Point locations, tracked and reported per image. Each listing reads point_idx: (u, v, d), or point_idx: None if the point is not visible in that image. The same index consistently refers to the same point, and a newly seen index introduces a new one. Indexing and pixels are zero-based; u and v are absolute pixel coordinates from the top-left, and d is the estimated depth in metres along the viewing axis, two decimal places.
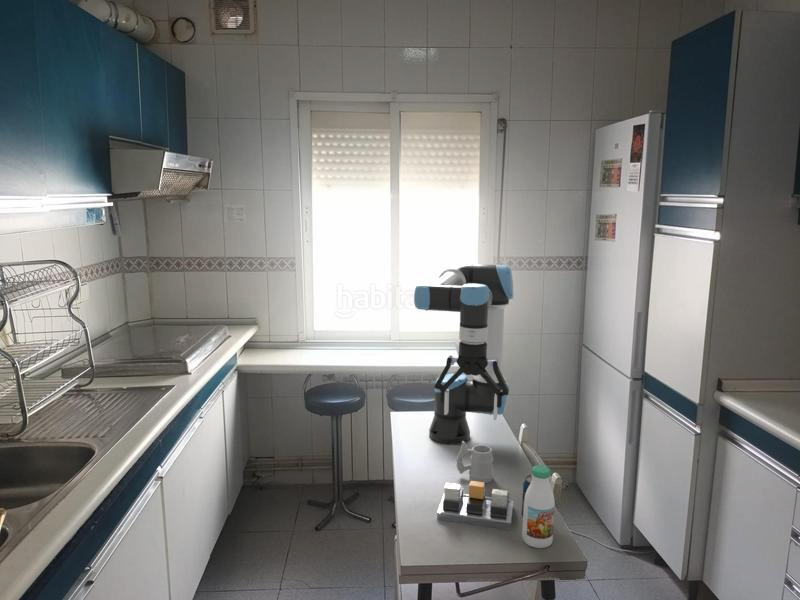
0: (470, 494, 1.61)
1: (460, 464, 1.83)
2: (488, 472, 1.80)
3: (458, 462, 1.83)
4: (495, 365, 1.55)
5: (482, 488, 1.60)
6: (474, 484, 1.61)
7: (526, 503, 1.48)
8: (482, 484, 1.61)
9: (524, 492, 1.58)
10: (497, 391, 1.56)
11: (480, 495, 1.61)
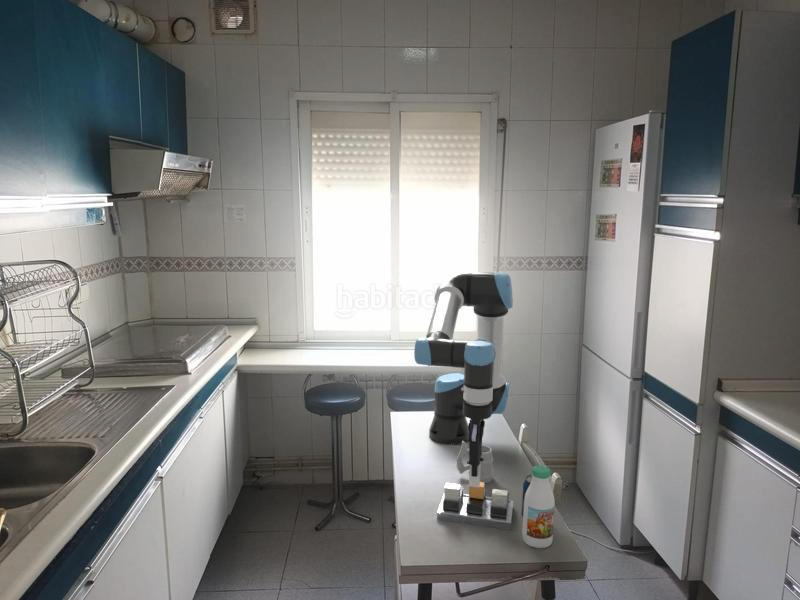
0: (470, 494, 1.61)
1: (460, 464, 1.83)
2: (488, 472, 1.80)
3: (458, 462, 1.83)
4: (469, 437, 1.47)
5: (482, 488, 1.60)
6: None
7: (526, 503, 1.48)
8: (482, 484, 1.61)
9: (524, 492, 1.58)
10: None
11: (480, 495, 1.61)
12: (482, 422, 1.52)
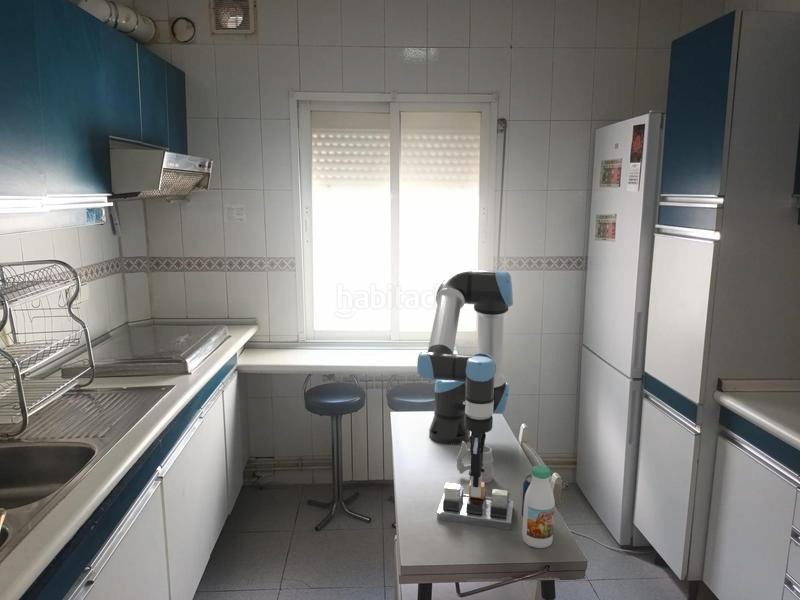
0: (470, 494, 1.61)
1: (460, 464, 1.83)
2: (488, 472, 1.80)
3: (458, 462, 1.83)
4: (470, 450, 1.53)
5: (482, 488, 1.60)
6: None
7: (526, 503, 1.48)
8: (482, 484, 1.62)
9: (524, 492, 1.58)
10: None
11: None
12: (483, 435, 1.58)
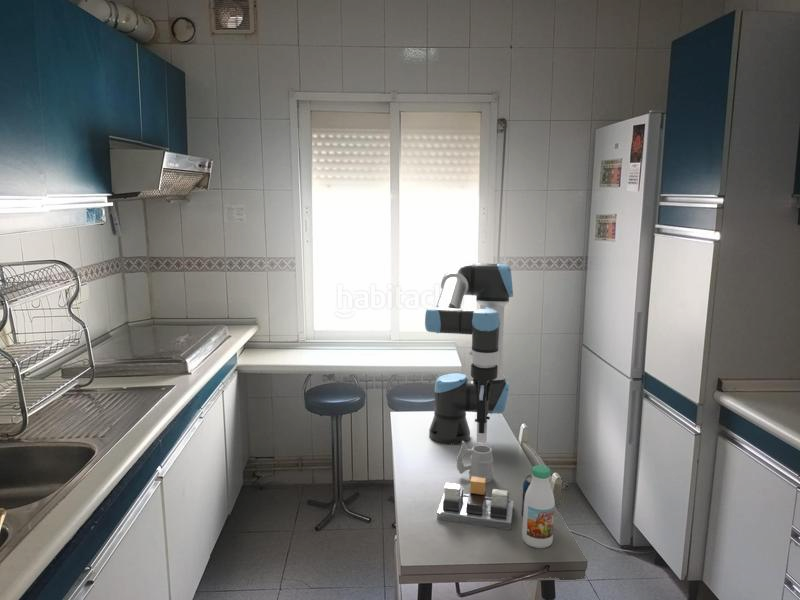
0: (471, 490, 1.64)
1: (460, 464, 1.83)
2: (488, 472, 1.80)
3: (458, 462, 1.83)
4: (476, 397, 1.61)
5: (483, 484, 1.63)
6: (475, 480, 1.64)
7: (526, 503, 1.48)
8: (483, 480, 1.64)
9: (524, 492, 1.58)
10: None
11: (481, 491, 1.63)
12: (488, 383, 1.66)
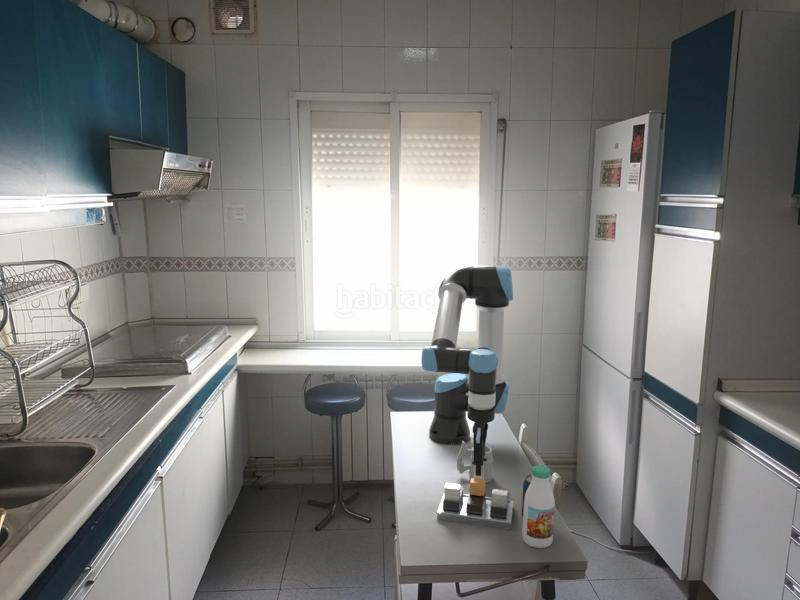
0: (471, 491, 1.63)
1: (460, 464, 1.83)
2: (488, 472, 1.80)
3: (458, 462, 1.83)
4: None
5: (483, 485, 1.62)
6: (475, 481, 1.63)
7: (526, 503, 1.48)
8: (483, 481, 1.63)
9: (524, 492, 1.58)
10: None
11: (481, 492, 1.62)
12: (485, 425, 1.63)
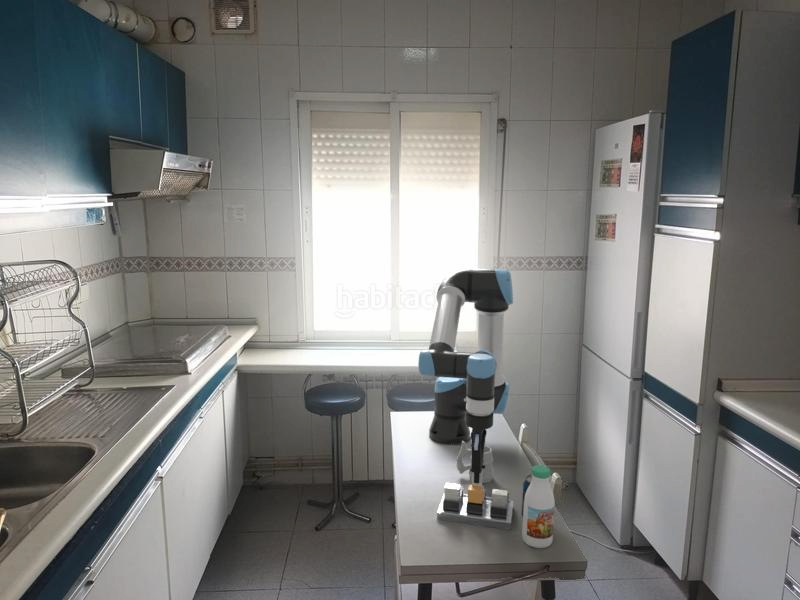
0: (469, 499, 1.59)
1: (460, 464, 1.83)
2: (488, 472, 1.80)
3: (458, 462, 1.83)
4: None
5: (481, 493, 1.58)
6: (473, 488, 1.59)
7: (526, 503, 1.48)
8: (481, 488, 1.59)
9: (524, 492, 1.58)
10: None
11: (479, 500, 1.58)
12: (484, 431, 1.59)
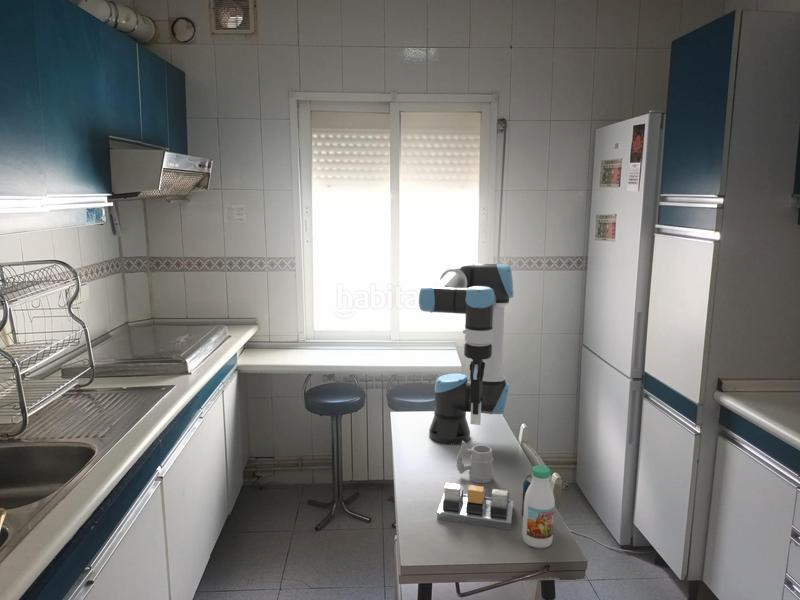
0: (469, 499, 1.59)
1: (460, 464, 1.83)
2: (488, 472, 1.80)
3: (458, 462, 1.83)
4: (470, 376, 1.56)
5: (481, 493, 1.58)
6: (473, 488, 1.59)
7: (526, 503, 1.48)
8: (481, 488, 1.59)
9: (524, 492, 1.58)
10: None
11: (479, 500, 1.58)
12: (482, 363, 1.61)
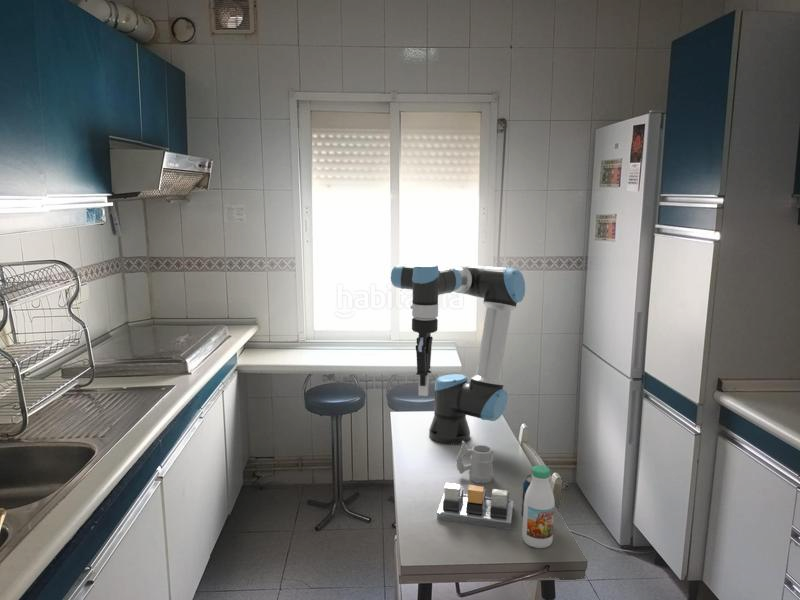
0: (469, 499, 1.59)
1: (460, 464, 1.83)
2: (488, 472, 1.80)
3: (458, 462, 1.83)
4: None
5: (481, 493, 1.58)
6: (473, 488, 1.59)
7: (526, 503, 1.48)
8: (481, 488, 1.59)
9: (524, 492, 1.58)
10: None
11: (479, 500, 1.58)
12: (429, 337, 1.70)
